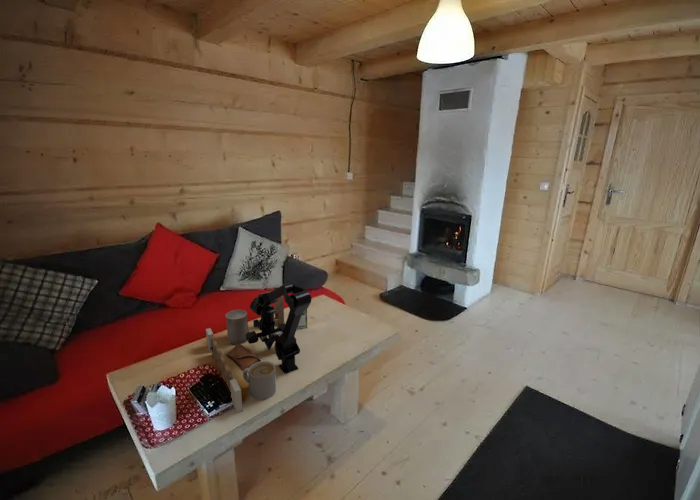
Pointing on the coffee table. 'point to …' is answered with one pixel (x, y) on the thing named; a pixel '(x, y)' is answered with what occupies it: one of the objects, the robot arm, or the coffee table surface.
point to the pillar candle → (237, 326)
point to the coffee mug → (261, 380)
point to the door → (221, 362)
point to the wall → (233, 383)
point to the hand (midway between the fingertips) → (268, 349)
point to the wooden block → (279, 311)
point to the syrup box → (303, 320)
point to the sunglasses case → (242, 356)
